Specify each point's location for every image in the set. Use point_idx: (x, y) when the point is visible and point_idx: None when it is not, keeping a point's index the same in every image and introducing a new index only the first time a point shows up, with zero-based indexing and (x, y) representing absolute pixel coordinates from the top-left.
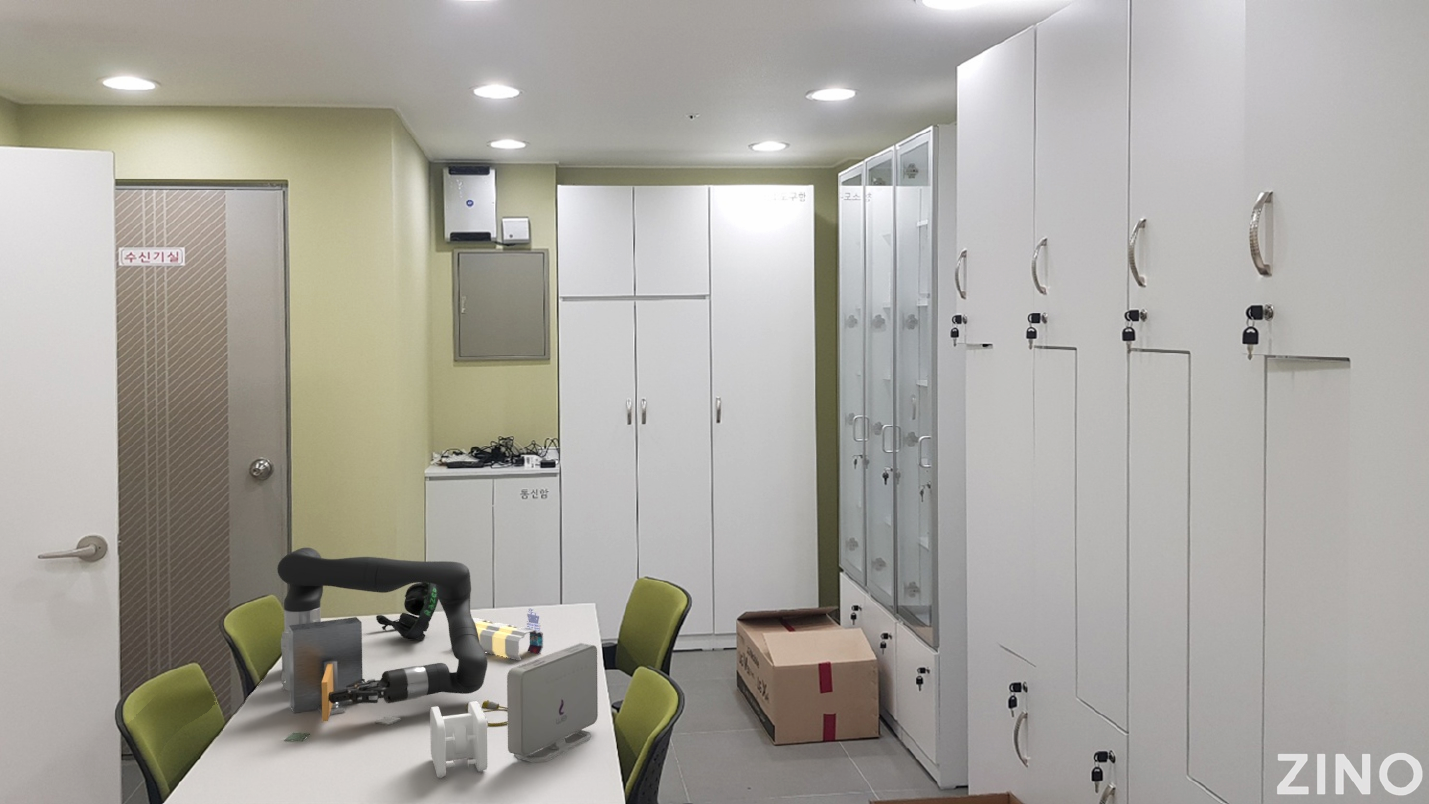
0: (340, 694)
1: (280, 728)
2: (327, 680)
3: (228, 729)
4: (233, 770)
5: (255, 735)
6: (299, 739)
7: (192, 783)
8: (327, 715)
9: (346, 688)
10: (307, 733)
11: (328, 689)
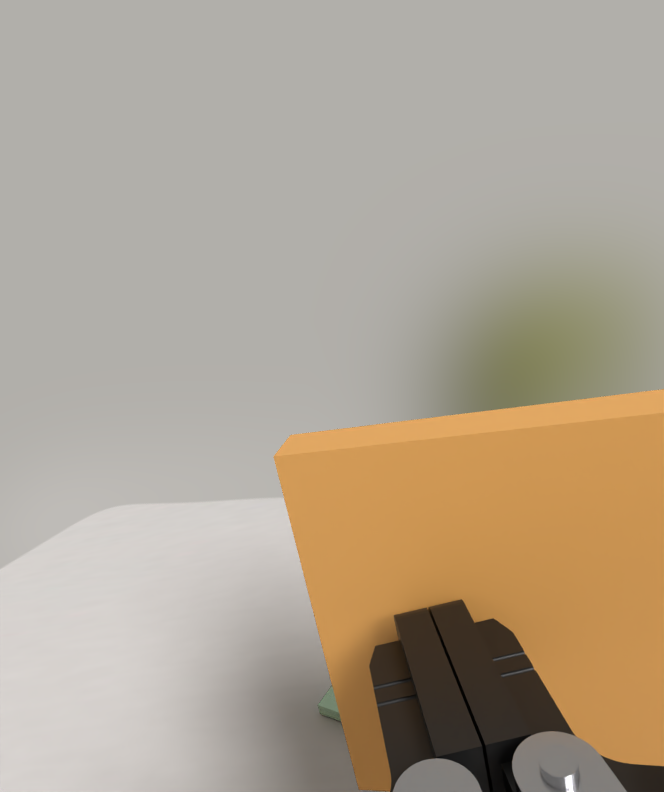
0: (388, 706)
1: None
2: (331, 449)
3: None
4: (159, 551)
5: None
6: (327, 692)
7: (147, 505)
8: (351, 745)
9: (548, 744)
10: None
11: (417, 555)
